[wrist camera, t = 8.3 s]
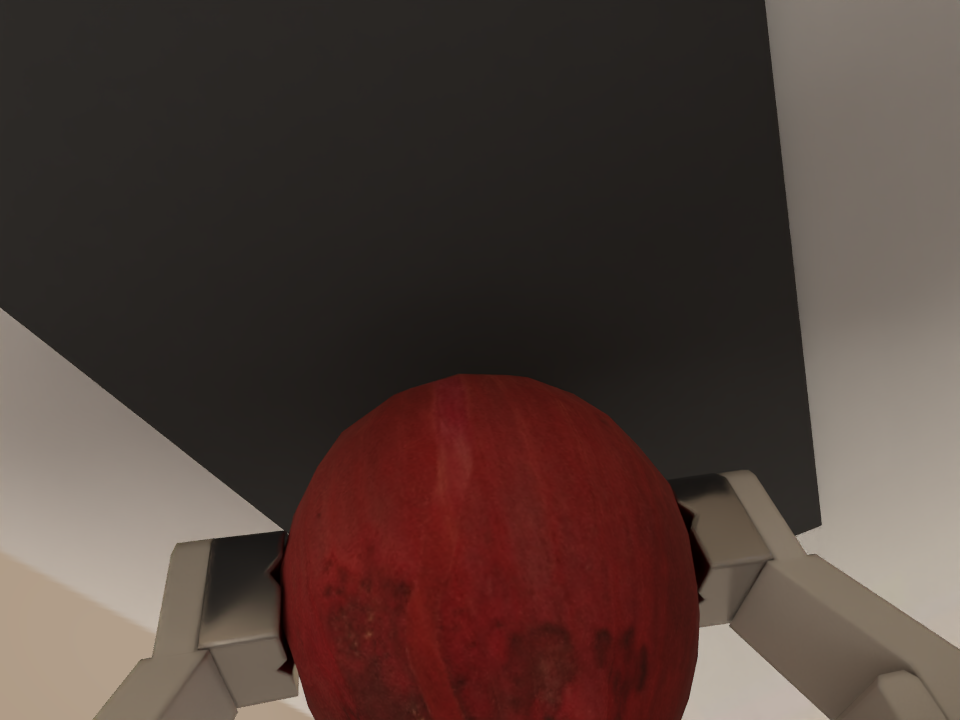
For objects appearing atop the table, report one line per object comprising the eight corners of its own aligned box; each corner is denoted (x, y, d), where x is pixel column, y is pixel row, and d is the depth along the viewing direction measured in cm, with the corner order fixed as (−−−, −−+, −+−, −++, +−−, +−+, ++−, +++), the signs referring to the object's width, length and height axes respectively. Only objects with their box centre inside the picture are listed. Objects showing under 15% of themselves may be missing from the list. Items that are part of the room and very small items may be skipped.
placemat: (-436, -58, 7) (-461, -54, 7) (657, -834, 5) (673, -864, 5) (458, 659, 21) (459, 668, 21) (816, 517, 20) (822, 525, 19)
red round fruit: (218, 414, 12) (121, 1079, 6) (469, 203, 10) (707, 850, 4) (437, 530, 15) (518, 1014, 9) (650, 389, 13) (921, 880, 7)
